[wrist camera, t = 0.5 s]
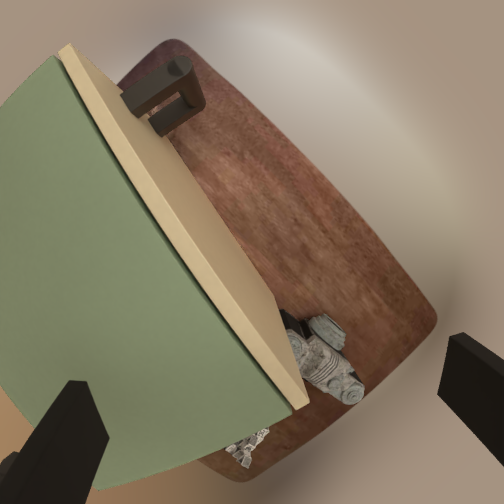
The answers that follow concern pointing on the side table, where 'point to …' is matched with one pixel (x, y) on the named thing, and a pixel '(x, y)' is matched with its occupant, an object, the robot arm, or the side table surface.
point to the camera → (323, 356)
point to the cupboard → (110, 298)
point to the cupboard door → (187, 203)
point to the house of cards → (246, 447)
